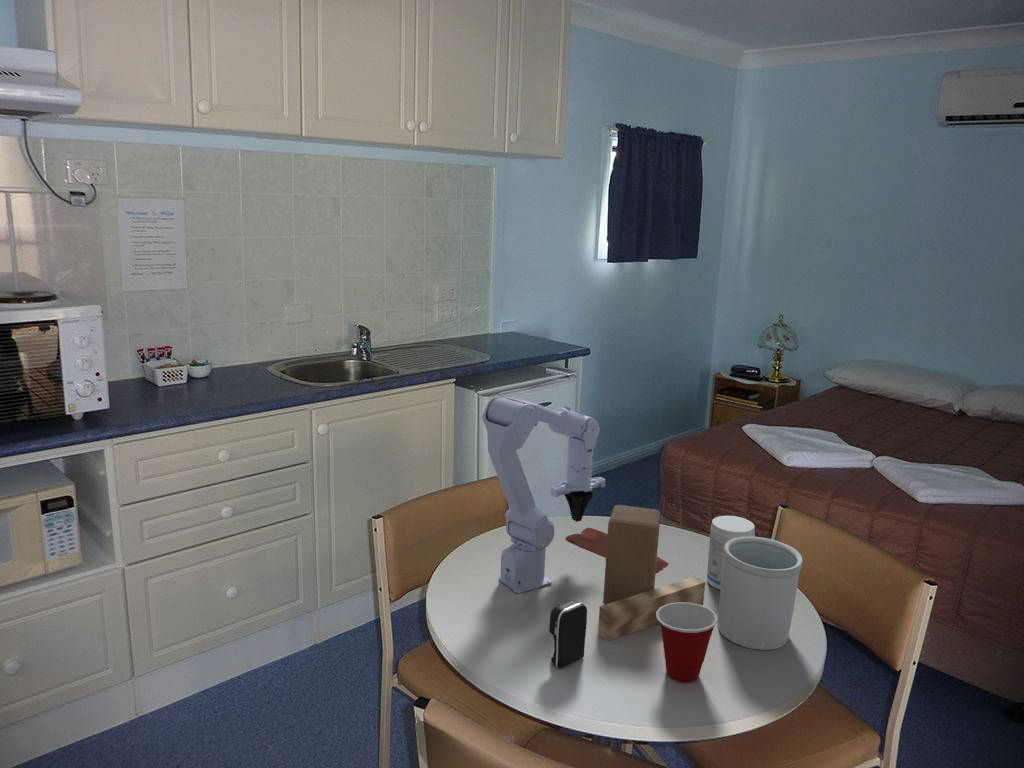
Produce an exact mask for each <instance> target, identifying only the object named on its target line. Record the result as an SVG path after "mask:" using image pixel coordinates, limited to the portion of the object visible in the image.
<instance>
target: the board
mask: <svg viewBox="0 0 1024 768" xmlns="http://www.w3.org/2000/svg"><path fill="white" fill-rule="evenodd" d="M705 587H706V581H704V580H703V579H701V578H699V577H698V576H695V575H693V576H692V577H691V576H690V577H687V578H685V579H682V580H679V581H676V582H675V581H674V582H672V583H669V584H666V585H663V586H662V585H661V586H659V587H657V588H654V589H653V590H650V591H646V592H643V593H640V594H637V595H634V596H631V597H628V598H624V599H621V600H618V601H615V602H612V603H609V604H605V605H604V604H603V605H600V606H599V613H598V614H599V615H598V626H597V627H598V628H597V629H598V630H597V634H598V635H599V636H600V635H601V636H600V637H602V638H603V639H604V638H605V641H607V642H609V641H611V640H614V639H618V638H620V636H621V637H624V636H626V635H629V634H633V633H634V632H637V630H638V631H641V630H643V628H644V629H646V628H649V627H652V626H655V625H658V624H660V623H659V621H658V620H657V616H656V612H657V610H658V609H659V608H660V607H662V606H664V605H666V604H671V603H676V602H686V603H694V604H699V605H702V606H704V599H705V590H706V588H705ZM640 629H641V630H640Z"/></svg>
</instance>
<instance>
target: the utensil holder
mask: <svg viewBox="0 0 1024 768" xmlns="http://www.w3.org/2000/svg"><path fill="white" fill-rule="evenodd" d="M724 555H725V558H724V566H723V574H722V584H721V590H720V594H719V605H718V615H717V619H718V620H717V626H718V629H719V632H720V634H721V635H722V636H723V637H724V638H726V639H727V640H729V641H730V642H732V643H734V644H736V645H738V646H741V647H743V648H746V649H747V648H748V649H752V650H759V651H760V650H761V651H771V650H777V649H779V648H782V647H784V646H785V645H786V644H787V642H788V640H789V637H790V630H791V625H792V619H793V614H794V608H795V602H796V601H795V600H796V595H797V591H798V586H799V585H798V584H799V579H800V571H801V570H802V567H803V562H804V561H803V558H802V554H801V553H800V552H799V551H798V550H797V549H796V548H794V547H792V546H790V545H789V544H786V543H784V542H780V541H778V540H775V539H772V538H766V537H761V536H755V537H737V538H734V539H731V540H729V541H728V542H727V543H726V544H725V547H724Z"/></svg>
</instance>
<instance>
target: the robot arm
mask: <svg viewBox="0 0 1024 768" xmlns="http://www.w3.org/2000/svg"><path fill="white" fill-rule="evenodd" d="M481 418H482V419H481V420H482V421H483V424H484V426H485V429H486V434H487V435H486V438H487V439H486V440H487V451H488V454H489V458H490V459H491V460H490V461H491V462H492V465H493V469H494V470H495V472H496V473H495V474H496V477H497V479H498V481H499V484H500V486H501V489H502V491H503V494H504V496H505V499H506V503H507V504H508V505H507V506H508V507H509V509H508V510H507V511H506V512H505V513H504V519H505V530H506V533H507V535H508V536H509V537H510V542H512V544H511V545H510V546H508V547H507V548H504V549H503V550H502V551H501V555H500V576H498V580H499V581H501V582H502V583H504V584H505V585H506V586H507V587H508V588H510V589H511V590H512V591H513V592H515V593H516V594H520V593H523V592H528V591H531V590H534V589H539V588H541V587H546V586H548V585H552V583H553V581H552V580H551V579H549V578H548V577H547V576H545V572H546V571H545V569H546V568H545V567H546V549H547V548H548V547H549V545H550V544H551V543H552V542H553V539H554V537H555V526H554V524H553V522H552V521H551V520H549V518H548V516H547V514H546V513H545V512H544V511H543V510H542V509H541V508H539V507H538V506H537V504H536V502H535V499H534V497H533V494H532V491H531V489H530V488H531V487H530V485H529V482H528V480H527V477H526V474H525V472H524V469H523V466H522V463H521V461H520V460H521V459H520V457H519V455H518V452H517V450H520V449H522V448H523V446H524V445H525V443H526V441H527V439H528V438H529V436H530V435H531V433H532V431H533V429H534V427H537V426H538V424H539V422H540V423H544V424H547V425H548V428H549V429H550V431H552V432H553V433H555V434H556V433H557V434H560V435H563V436H565V437H567V438H568V443H567V447H568V449H567V462H566V463H567V465H566V466H567V468H566V480H565V481H562V482H561V483H558V484H556V485H554V486H551V487H550V496H552V497H554V498H559V497H560V496H562V495H564V497H565V500H566V501H567V504H568V507H569V510H570V515H571V520H573V521H575V522H581V521H582V519H583V517H584V513H585V511H586V508H587V506H588V504H589V502H590V501H591V499H592V498H593V496H594V493H593V492H592V491H593V489H595V488H596V489H597V488H605V487H606V479H605V478H604V477H601V476H598V477H596V476H595V477H592V472H593V456H594V449H595V447H596V443H597V439H598V437H599V434H600V430H601V428H600V426H599V423H598V421H597V420H596V419H597V418H596V419H595V418H594V417H591V416H588V415H584V414H583V412H582V411H580V410H576V411H574V410H572V407H571V406H567V405H563V406H558V407H555V408H553V409H552V408H549V407H546V406H543V405H541V404H539V403H535V402H532V401H528V400H524V399H520V398H519V399H517V398H513V397H503V396H502V395H501V396H500V395H496V396H493V397H492V398H490V399H489V401H488V402H487V404H486V406H485V408H484V412H483V414H482V417H481Z"/></svg>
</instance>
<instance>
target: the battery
mask: <svg viewBox="0 0 1024 768" xmlns="http://www.w3.org/2000/svg"><path fill="white" fill-rule="evenodd" d="M587 621H588V608H587V606H586V605H585V604H584V603H583V602H579V601H578V600H576V599H570V600H566V601H565V602H562V603H560V604H558V605H556V606H555V607H553V608H552V609H551V611H550V615H549V626H548V627H549V629H548V631H549V634H551V635H552V636H553V641H554V644H553V645H554V646H553V649H554V652H553V656H552V657H551V658H550V662H551V664H552V665H554V667H556V668H557V669H560V670H561V669H563V668H565V667H567V666H571V665H572V664H573V663H576V662H578V661H579V660H580V659H583V658H584V657H585V646H586V645H585V644H586V634H587Z"/></svg>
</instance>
